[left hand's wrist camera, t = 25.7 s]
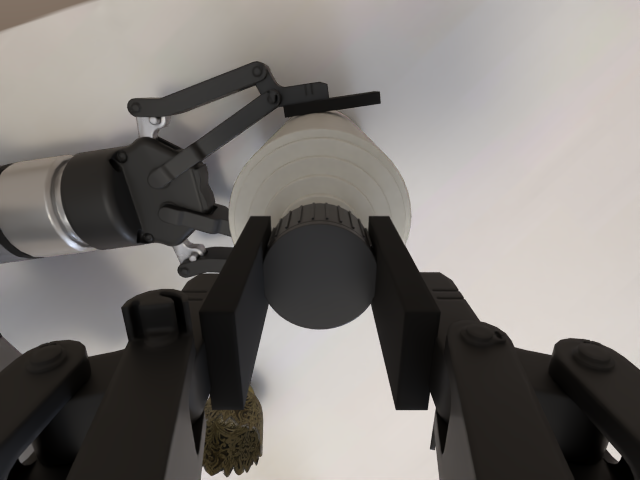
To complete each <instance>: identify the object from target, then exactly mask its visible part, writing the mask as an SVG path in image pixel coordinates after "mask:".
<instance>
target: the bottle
mask: <svg viewBox="0 0 640 480" xmlns="http://www.w3.org/2000/svg"><path fill="white" fill-rule="evenodd" d="M314 202H315V203H328V204H332V205H336V206H338V205H339V206H340V207H341V208H343V209H345V210H347V211H351V213H352V214H353V215H354V216H355V217H356V218H357V219H358V218H359V219H360V220H361V223H362V225H363V226H364V228H367V230H368V222H369V216H389V217H390V219H391V220H392V222H393V224H394V226H395V228H396V230H397V231H398V233H399V235H400V237H401V239H402V241H403V243H404V244H405V245H406V242H407V239H408V236H409V231H410V226H411V204H410V199H409V194H408V191H407V188H406V185H405V182H404V180H403V178H402V176H401V174H400V173H399V171H398V169H397V168H396V167H395V165H394V164H393V162H392V161H391V160H390V159H389V158H388V157H387V156H386V155H385V154H384V153H383V152H382V151H381V150H380V149H379V148H378V147H377V146H376V145H375V144H374V143H373V142H372V141H371V139H370V138H369V137H368V136H367V135H366V134H365V133H364V132H363V131H362V130H361V129H360V128H359V127H358V126H357V125H356V124H355V123H354V122H353V121H352V120H351V119H349V118H348V117H347V116H346V115H344V114H342V113H340V112H338V111H335V110H333V111H327V112H320V113H313V114H306V115H299V116H293V117H292V118H291V119H289V120H288V121H287V122H286V123H285V124H284V125H283V126H282V127H281V128H280V129H279V130H278V131H277V132H276V133H275V134H274V135H273V136H272V137H271V138H270V139H269V140H268V141H267V142H266V143H265V144H264V145H263V146H262V147H261V148H260V149H259V150H258V151H257V152H256V153H255V154H254V155H253V156H252V158H251V159H250V160H249V161H248V162H247V163H246V165H245V166H244V168H243V169H242V171H241V172H240V174H239V176H238V178H237V180H236V182H235V184H234V187H233V190H232V193H231V197H230V203H229V227H230V232H231V236H232V240H233V243H234V245H235V244H236V242H237V240H238V238H239V236H240V234H241V233H242V231H243V229H244V227H245V225H246V223H247V221H248V220H249V218H250V216H271V230H273V227H274V228H275V227H276V226H277V224H278V223H279V220H280V218H283V217H284V216H286V215H287V214H288V213H289V211H290V210H291V211H293V210H294V209H296V208H299V207H300V206H301V205H302V206H304V205H308V204H312V203H314Z"/></svg>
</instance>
